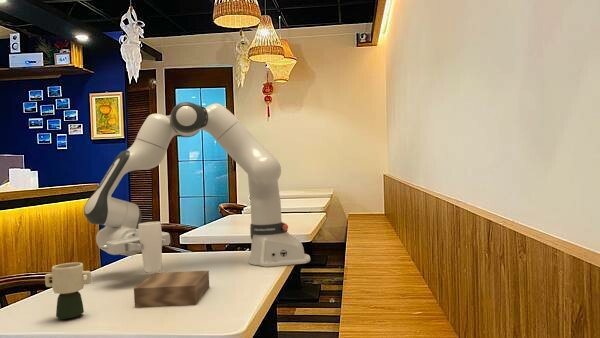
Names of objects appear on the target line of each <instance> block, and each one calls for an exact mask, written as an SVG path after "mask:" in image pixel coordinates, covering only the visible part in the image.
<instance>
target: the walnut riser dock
mask: <svg viewBox="0 0 600 338" xmlns="http://www.w3.org/2000/svg"><path fill="white" fill-rule="evenodd" d="M209 289H210V271H209V270H207V269H206V270H191V271H190V270H189V271H186V270H184V271H171V272H170V271H166V272H153V274H151V275H150V276H149V277H147V278H146V279H145V280H143V281H142V282H141V283H139V284H138V285H136V286H135V287H133V297H134V298H133V299H134V301H133V303H134V308H153V307H154V308H155V307H156V306H157V307H177V306H194V305H195V306H196V305H197V304H198V303H199V301H201V299H202V298H203V296H204V295H205V294H206V293H207V291H208V290H209ZM157 307H156V308H157Z"/></svg>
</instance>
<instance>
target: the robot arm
mask: <svg viewBox="0 0 600 338" xmlns="http://www.w3.org/2000/svg"><path fill="white" fill-rule="evenodd" d="M200 131H205V132H207V133H208V134H209V135H210V136H211V137H212V138H213V139H214V140H215V141H216V142H217V143H218V144H219V146H221V148H222V149H223V150H224V151H225V152H226V154H228V156H230V158H231V159H232V160H233V161H234V162H235V163H236V164H238V166H239V167H240V168H241V169H242V170H243V171H244V172H245V173H246V174H247V177H248V178H247V179H248V192H249V201H250V218H251V219H250V227H249V230H250V231H249V232H250V239H251V244H250V246H251V248H250V255H249V260H248V263H249V264H251V265H255V266H261V267H265V268H267V267H278V266H279V267H280V266H289V265H301V264H302V265H303V264H307V263H310V262H311V256H310V255H309V254H307V253H305V250H304V249H305V248H304V246H303V243H302V241H300V240H299V239H298V238H296V237H295V236H293V235H292V234H290V233H289V232H288V229H289V225H288V223H285V222H283V221H282V210H281V209H282V206H281V202H282V201H281V197H280V195H281V194H280V190H279V179H280V177H281V174H282V168H281V167H282V166H281V164H280V162H279V160H278V159H277V158H276V157H275V156H274V155H273V154H272V153H271V152H270V151H269V150H268V149H267V148H266V147H265V146H264V145H263V144H262V143H261V142H260V141H259V140H258V139H257V138H256V137H255V136H253V134H252V133H251V132H250V131H249V130H248V129H247V128H246V126H245V125H243V123H242V122H241V121H240V120H239V119H238V117H236V116H235V115H234V114H233V113H232V112H231V111H230V110H229V109H228V108H226V107H225V106H224V105H222V104H220V103H219V102H218V103H212V104H209V105H208V106H206V107H204V106H202V105H199V104H196V103H193V102H190V101H183V102H179V103H178V104H176V105H175V106H174V107H173V108H172V110H171V112H170V114H169V115H164V114H162V113H152V114H149V115H148V116H147V117H146V119H145V120H144V122H143V124H142V125H141V126H140V129H139V131H138V132H137V135H136V137H135V139H134V142H133V143H132V144H131V146H130V147H128V148H127V149H126V150H122V151H120V152H119V154H118V155H117V156H116V157H115V159H114V160H113V162H112V164H111V165H110V167H109V168H108V170H107V171H106V173H105V175H104V176H103V178H102V179H101V181H100V182H99V184H98V186H97V188H96V189H95V191H94V192H93V193H92V194H91V195H90V197H89V198H88V199H87V200H86V202H85V205H84V208H83V214H84V216H85V218H86V220H87V221H88V222H89V223H90V224H91V225H99V226H104V227H103V228H101V229H100V230H99V231H97V233H96V237H95V241H96V245H97V247H98V248H99V249H101V250H102V251H104V252H106V253H107V254H109V255H113V256H116V255H117V256H118V255H121V256H127V257H133V256H135V255H136V256H137V254H139V253H142V252H141V250H143V249H144V247H143V244H141V243H140V240H139V228H138V224H140V223H142V212H141V209H140V207H139V205H138V204H136V203H133V202H130V201H127V200H123V199H119V198H116V197H112V194H113V193H114V191H115V190H116V188H117V187H118V186H119V184H120V182H121V180H122V178H123V177H124V175H126V174H128V173H130V172H133V171H142V170H145V171H146V170H151V169H154V168H156V167H158V166H159V165H160V164H161V163H162V161H163V160H164V158H165V155H166V153H167V150H168V147H169V146H170V145H169V144H170V143H171V141H172V139H173V138H174V137H179V138H191V137H195V136H196V135H197V134H198V133H199V132H200ZM170 244H171V235H170V233H169V232H165V231H162V246H167V245H170Z"/></svg>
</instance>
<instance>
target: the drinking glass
mask: <svg viewBox="0 0 600 338" xmlns="http://www.w3.org/2000/svg"><path fill="white" fill-rule="evenodd" d="M138 229H139V240H140V243H141V244H143V247H144V249H143V250H141V252H140V253H141V256H142V258H141V259H142V262H143V263H142V264H143V270H144V272H145V273H147V274H151V273H153V274H154V273H159V272H160V271H162V270H163V263H162V259H163V258H162V257H163V255H162V254H163V252H162V249H163V247H162V232H163V231H162V223H161V221H147V222H141V223H140V224H138Z"/></svg>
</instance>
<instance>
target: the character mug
mask: <svg viewBox="0 0 600 338" xmlns="http://www.w3.org/2000/svg"><path fill="white" fill-rule="evenodd" d="M85 276H86V279H85ZM50 278H51V282H50ZM44 281H45V282H44V283H45V286H46V288H52V291H53V293H54V294H58V296H57V301H56V310H55V311H56V314H55V315H56V318H58V319H62V320H64V319H65V320H67V319H71V318H77V317H78V316H80V315H82V314H83V313H85V310H84V304H83V299H82V295H81V293H80V291H81V290H83V289H84V286H85V285H89V284H92V272H91V271H90V270H84V264H83V262H66V263H60V264H57V265H53V266H52V267H51V273H46V274H45V276H44Z"/></svg>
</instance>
